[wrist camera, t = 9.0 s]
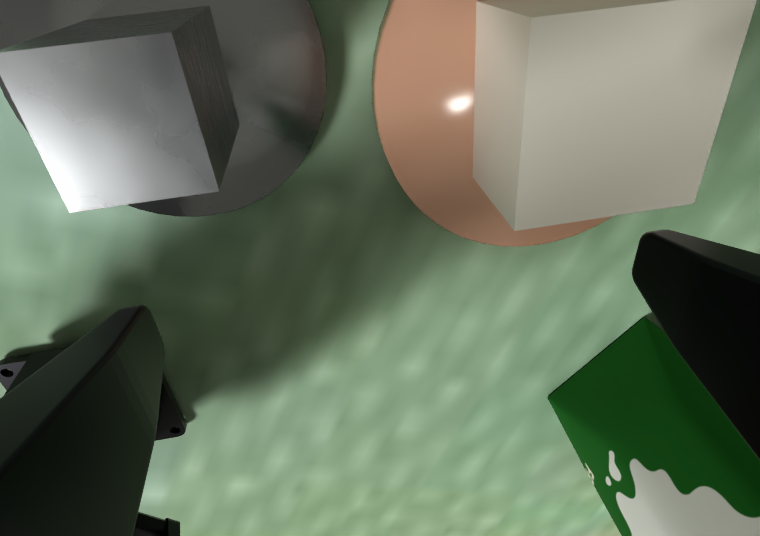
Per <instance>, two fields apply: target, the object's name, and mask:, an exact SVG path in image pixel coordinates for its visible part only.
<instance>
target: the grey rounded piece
mask: <svg viewBox="0 0 760 536" xmlns="http://www.w3.org/2000/svg"><path fill="white" fill-rule="evenodd" d="M326 80H327V76H326V64H325V55H324V50H323V45H322V40H321V35H320V32H319V28H318V25H317V22H316V19H315V16H314V13H313V10H312V8H311V6H310V4H309V1H308V0H0V86H1V89H2V91H3V93H4V96H5V97H6V99H7V101H8V103H9V104H10V106H11V108H12V109H13V111H14V113H15V115H16V116H17V118H18V119H19V121H20V122H21V123H22V125H23V126H24V127H25V129H26V130H27V131H28V133H29V134H30V136H31V138H32V140H33V141H34V143H35V145H36V147H37V149H38V151H39V153H40V155H41V157H42V159H43V161H44V163H45V165H46V167H47V169H48V171H49V173H50V175H51V177H52V179H53V181H54V183H55V185H56V187H57V189H58V191H59V193H60V195H61V197H62V199H63V201H64V203H65V205H66V207H67V209H68V211H69V213H71V212H78V211H85V210H92V209H99V208H106V207H113V206H120V205H129V206H132V207H134V208H137V209H141V210H145V211H149V212H153V213H157V214H164V215H172V216H190V217H197V216H208V215H216V214H221V213H225V212H230V211H233V210H236V209H239V208H242V207H245V206H247V205H249V204H252V203H254V202H256V201H258V200H260V199H262V198H263V197H265V196H266V195H268V194H269V193H271V192H272V191H274V190H275V189H277V188H278V187H279V186H280V185H281V184H282V183H283V182H285V181H286V180H287V179H288V178H289V177H290V176H291V175H292V173H293V172H294V171H295V170H296V169H297V168H298V167H299V165H300V164H301V162H302V161H303V159H304V158H305V156H306V155H307V153H308V152H309V150H310V148H311V146H312V144H313V141H314V139H315V137H316V135H317V132H318V129H319V126H320V123H321V120H322V116H323V110H324V105H325V99H326Z"/></svg>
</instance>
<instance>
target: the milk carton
mask: <svg viewBox="0 0 760 536" xmlns="http://www.w3.org/2000/svg"><path fill="white" fill-rule="evenodd" d="M547 398H548V400H549V401H550V403H551V405H552V407H553V409H554V411H555V413H556V414H557V416H558V418H559V420H560V422H561V424H562V426H563V428H564V430H565V432H566V434H567V435H568V437H569V439H570V441H571V443H572V445H573V447H574V449H575V451H576V453H577V454H578V456H579V458H580V460H581V462H582V464H583V466H584V468H585V470H586V471H587V473H588V475H589V477H590V479H591V481H592V483H593V484H594V486H595V488H596V490H597V492H598V494H599V495H600V497H601V499H602V501H603V503H604V504H605V506H606V508H607V510H608V512H609V514H610V515H611V517H612V519H613V521H614V523H615V524H616V526H617V528H618V530H619V532H620V533H621V535H622V536H760V460H759V458H758V457H757V456H756V455H755V453H754V452H753V451H752V449H751V448H750V447H749V445H748V444H747V443H746V441H745V440H744V439H743V437H742V436H741V435H740V433H739V432H738V431H737V429H736V428H735V427H734V426H733V424H732V423H731V422H730V420H729V419H728V418H727V416H726V415H725V414H724V412H723V411H722V410H721V408H720V407H719V406H718V404H717V403H716V402H715V401H714V399H713V398H712V397H711V395H710V394H709V393H708V391H707V390H706V389H705V387H704V386H703V385H702V383H701V382H700V381H699V379H698V378H697V377H696V375H695V374H694V373H693V372H692V370H691V369H690V368H689V366H688V365H687V364H686V362H685V361H684V360H683V358H682V357H681V356H680V354H679V353H678V352H677V350H676V349H675V347H674V346H673V345H672V343H671V341H670V340H669V338H668V337H667V335H666V334H665V332H664V331H663V330H661V329H660V328H658V327H657V326H656V325H654V324H653V323H651V322H650V321H649V320H647V319H646V318H642V319H641V320H640V321H639V322H638V323H636V324H635V325H634V326H633V327H632V328H630V329H629V330H628V331H627V332H626V333H624V334H623V335H622V336H621V337H619V338H618V339H617V340H616V341H615V342H613V343H612V344H611V345H610V346H609V347H607V348H606V349H605V350H604V351H603V352H601V353H600V354H599V355H598V356H596V357H595V358H594V359H593V360H592V361H590V362H589V363H588V364H587V365H586V366H584V367H583V368H582V369H581V370H580V371H578V372H577V373H576V374H575V375H573V376H572V377H571V378H570V379H569V380H567V381H566V382H565V383H564V384H563V385H561V386H560V387H559V388H558V389H557V390H555V391H554V392H553V393H552V394H550V395H549V396H548V397H547Z"/></svg>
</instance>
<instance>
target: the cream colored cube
mask: <svg viewBox="0 0 760 536" xmlns="http://www.w3.org/2000/svg"><path fill="white" fill-rule="evenodd" d="M756 1H757V0H483V1H476V44H475V89H474V135H473V178H474V180H475V181H476V182H477V184H478V185H479V186H480V188H481V189H482V190H483V191H484V193H485V194H486V195H487V197H488V198H489V199H490V200H491V202H492V203H493V204H494V206H495V207H496V208H497V210H498V211H499V212H500V213H501V215H502V216H503V217H504V219H505V220H506V221H507V222H508V224H509V225H510V226H511V228H512V229H513V230H514V231H519V230H525V229H532V228H538V227H545V226H551V225H558V224H564V223H571V222H577V221H584V220H591V219H597V218H604V217H610V216H617V215H623V214H630V213H636V212H643V211H649V210H656V209H663V208H669V207H676V206H682V205H689V204H694V203H695V200H696V196H697V193H698V190H699V187H700V183H701V180H702V177H703V174H704V170H705V167H706V164H707V161H708V157H709V154H710V151H711V148H712V144H713V141H714V138H715V135H716V131H717V128H718V125H719V122H720V118H721V115H722V112H723V109H724V105H725V102H726V99H727V96H728V92H729V89H730V86H731V83H732V79H733V76H734V73H735V70H736V66H737V63H738V60H739V57H740V53H741V50H742V47H743V44H744V40H745V37H746V34H747V31H748V27H749V24H750V21H751V18H752V14H753V11H754V8H755V5H756Z"/></svg>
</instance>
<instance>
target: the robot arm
mask: <svg viewBox="0 0 760 536" xmlns="http://www.w3.org/2000/svg"><path fill="white" fill-rule="evenodd" d="M632 276H633V280H634V282H635V284H636V286H637V287H638V289H639V291H640V292H641V294H642V296H643V297H644V299H645V301H646V302H647V304H648V306H649V307H650V309H651V311H652V312H653V314H654V315H655V317H656V319H657V320H658V322H659V324H660V325H661V327H662V329H663V330H664V332H665V334H666V335H667V337H668V338H669V340H670V341H671V343H672V345H673V346H674V347H675V349H676V350H677V352H678V353H679V354H680V356H681V357H682V358H683V360H684V361H685V362H686V364H687V365H688V366H689V368H690V369H691V370H692V372H693V373H694V374H695V375H696V377H697V378H698V379H699V381H700V382H701V383H702V385H703V386H704V387H705V389H706V390H707V391H708V393H709V394H710V395H711V397H712V398H713V399H714V401H715V402H716V403H717V404H718V406H719V407H720V408H721V410H722V411H723V412H724V414H725V415H726V416H727V418H728V419H729V420H730V422H731V423H732V424H733V426H734V427H735V428H736V429H737V431H738V432H739V433H740V435H741V436H742V437H743V439H744V440H745V441H746V443H747V444H748V445H749V447H750V448H751V449H752V451H753V452H754V453H755V455H756V456H757V457H758V458H759V460H760V254H757V253H753V252H749V251H746V250H742V249H738V248H735V247H731V246H727V245H723V244H720V243H716V242H712V241H708V240H705V239H701V238H697V237H694V236H690V235H686V234H682V233H679V232H675V231H671V230H658V231H651V232H646V233H645V234H643V235H642V237H641V238H640V241H639V245H638V249H637V253H636V256H635V260H634V264H633V268H632ZM163 364H164V344H163V341H162V338H161V336H160V333H159V331H158V329H157V326H156V324H155V321H154V319H153V316H152V314H151V312H150V310H149V309H148V308H147V307H146V306H144V305H139V306H132V307H125V308H121V309H119V310H117V311H116V312H114V313H113V314H112V315H110V316H109V317H108V318H106V319H105V320H104V321H102V322H101V323H100V324H99V325H97V326H96V327H95V328H93V329H92V330H91V331H89V332H88V333H87V334H85V335H84V336H83V337H81V338H80V339H79V340H77V341H76V342H75V343H73V344H72V345H71V346H69V347H68V348H66V349H60V350H54V351H48V352H41V353H35V354H30V355H24V356H18V357H11V358H5V359H2V360H1V361H0V382H1V384H2V385H3V386H4V387H5V389H6V390H7V391H6V393H5V395H4V396H3V397H2V398H1V399H0V536H180V522H179V521H175V520H172V519H169V518H166V519H165V520H164V519H160V518H157V517H154V516H150V515H147V514H144V513H140V512H138V510H139V506H140V502H141V498H142V493H143V489H144V485H145V480H146V476H147V472H148V467H149V463H150V459H151V454H152V450H153V446H154V441H156V440H161V439H167V438H173V437H178V436H181V435H183V434H184V433H185V431H186V426H187V423H186V420H185V418H184V416H183V414H182V412H181V410H180V408H179V406H178V404H177V402H176V400H175V398H174V396H173V394H172V391H171V389H170V387H169V385H168V383H167V381H166V379H165V377H164V375H163ZM8 369H9V370H8Z"/></svg>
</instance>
